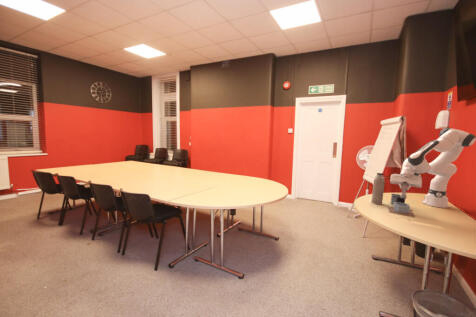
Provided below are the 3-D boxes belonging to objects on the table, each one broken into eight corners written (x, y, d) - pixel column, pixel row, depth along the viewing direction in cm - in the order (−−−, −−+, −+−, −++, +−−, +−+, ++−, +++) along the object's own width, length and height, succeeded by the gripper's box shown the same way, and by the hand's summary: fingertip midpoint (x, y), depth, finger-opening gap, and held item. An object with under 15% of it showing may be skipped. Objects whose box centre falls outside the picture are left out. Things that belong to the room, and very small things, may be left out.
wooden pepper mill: (370, 202, 201) (373, 172, 198) (380, 204, 198) (384, 173, 195) (372, 205, 193) (376, 173, 190) (383, 206, 191) (386, 174, 188)
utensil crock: (392, 208, 182) (393, 201, 182) (407, 210, 177) (408, 203, 177) (393, 211, 174) (394, 204, 173) (409, 214, 169) (410, 206, 168)
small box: (404, 209, 185) (406, 197, 184) (395, 208, 186) (397, 196, 185) (398, 205, 195) (399, 194, 194) (389, 205, 197) (391, 193, 195)
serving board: (387, 207, 188) (387, 206, 188) (411, 211, 180) (411, 210, 180) (389, 214, 171) (389, 212, 171) (415, 219, 163) (415, 217, 163)
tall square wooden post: (399, 198, 174) (401, 181, 172) (400, 197, 177) (402, 181, 175) (406, 199, 171) (408, 182, 170) (406, 198, 174) (408, 181, 173)
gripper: (391, 171, 184) (388, 184, 178) (423, 174, 170) (421, 189, 164) (391, 175, 188) (388, 188, 182) (422, 179, 174) (420, 194, 168)
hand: (404, 189), depth 173 cm, fingers closed on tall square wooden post, 2 cm apart
